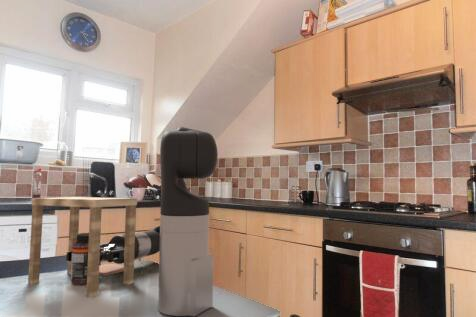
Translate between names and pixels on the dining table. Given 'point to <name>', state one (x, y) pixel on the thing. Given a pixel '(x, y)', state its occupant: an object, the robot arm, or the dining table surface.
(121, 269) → the coaster
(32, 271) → the small wooden table
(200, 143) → the robot arm
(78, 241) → the supplement bottle
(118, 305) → the dining table surface
